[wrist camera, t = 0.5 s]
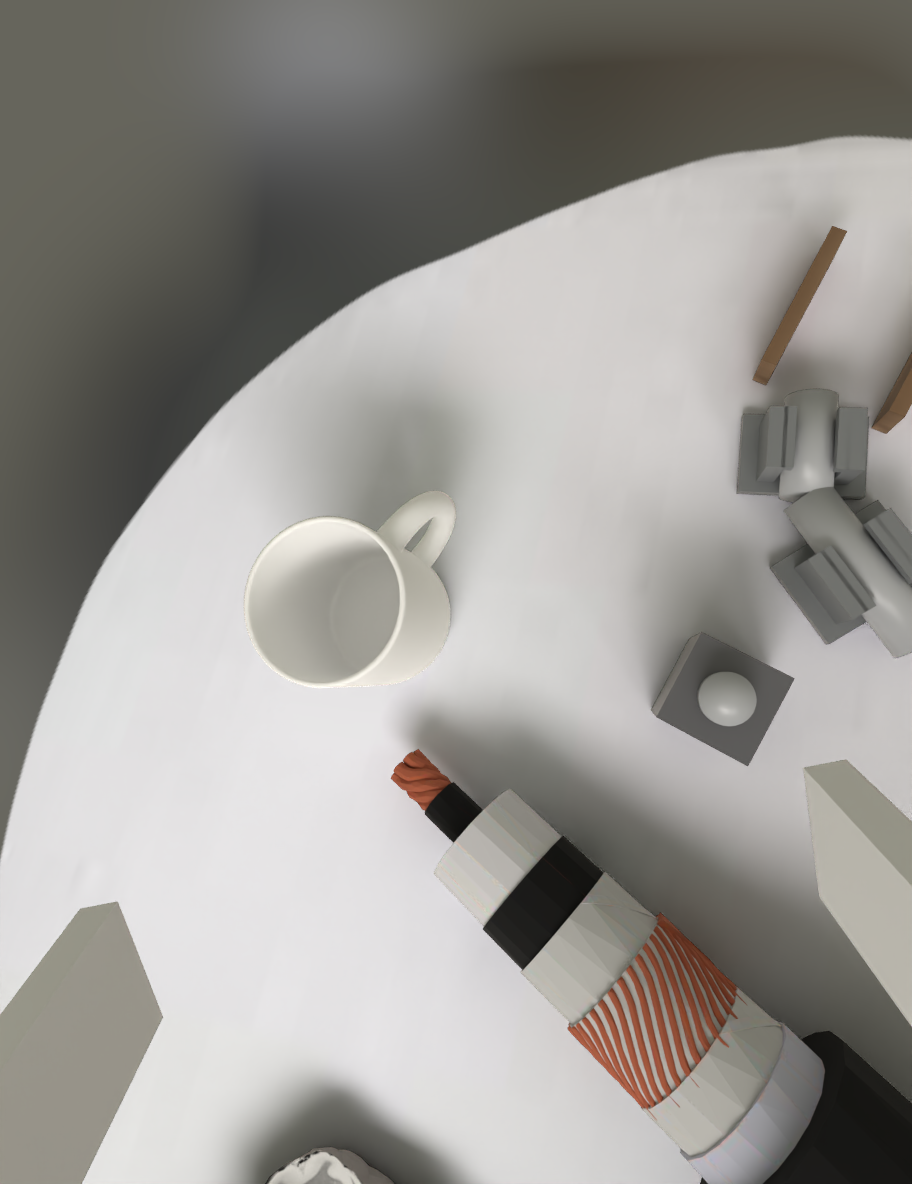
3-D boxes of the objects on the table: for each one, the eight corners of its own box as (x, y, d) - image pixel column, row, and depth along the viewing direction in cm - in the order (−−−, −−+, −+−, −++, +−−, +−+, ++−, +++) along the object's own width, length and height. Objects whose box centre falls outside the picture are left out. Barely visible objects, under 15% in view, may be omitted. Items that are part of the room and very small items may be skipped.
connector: (766, 677, 41) (800, 678, 33) (727, 751, 41) (752, 769, 33) (688, 639, 42) (704, 630, 34) (651, 710, 42) (657, 718, 34)
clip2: (861, 508, 40) (883, 492, 37) (736, 502, 42) (746, 486, 38) (866, 411, 41) (888, 386, 37) (742, 409, 42) (753, 385, 39)
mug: (420, 476, 46) (364, 421, 36) (522, 559, 44) (492, 526, 34) (299, 625, 47) (210, 612, 37) (394, 713, 45) (328, 724, 35)
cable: (463, 733, 49) (470, 667, 40) (960, 1196, 37) (1123, 1246, 28) (346, 849, 45) (325, 804, 36) (860, 1406, 33) (1013, 1539, 24)
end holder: (955, 303, 41) (979, 276, 38) (886, 433, 41) (905, 416, 38) (819, 254, 42) (832, 226, 40) (752, 379, 42) (761, 359, 40)
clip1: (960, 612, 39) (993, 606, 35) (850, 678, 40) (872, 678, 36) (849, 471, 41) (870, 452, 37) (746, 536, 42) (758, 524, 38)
